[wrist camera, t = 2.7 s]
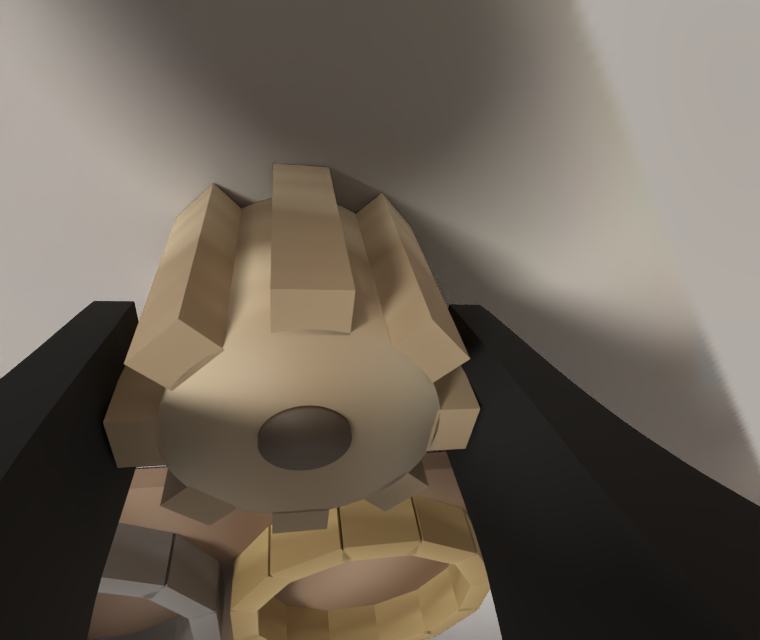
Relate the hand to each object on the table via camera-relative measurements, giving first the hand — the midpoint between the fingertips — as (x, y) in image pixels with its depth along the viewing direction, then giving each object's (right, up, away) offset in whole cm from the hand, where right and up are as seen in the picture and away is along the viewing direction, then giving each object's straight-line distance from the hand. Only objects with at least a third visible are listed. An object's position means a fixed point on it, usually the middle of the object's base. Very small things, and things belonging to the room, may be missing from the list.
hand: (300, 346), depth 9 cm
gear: (0, +1, +1) cm, 2 cm away
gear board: (-4, -8, +8) cm, 12 cm away
